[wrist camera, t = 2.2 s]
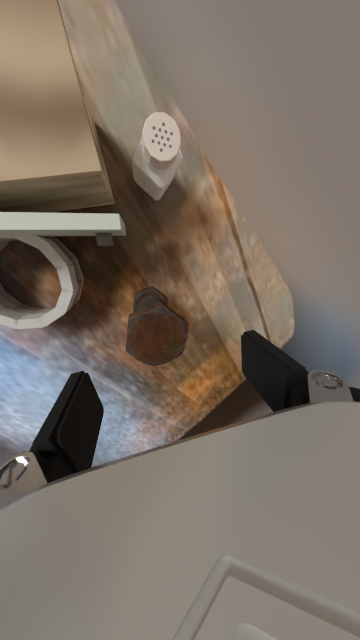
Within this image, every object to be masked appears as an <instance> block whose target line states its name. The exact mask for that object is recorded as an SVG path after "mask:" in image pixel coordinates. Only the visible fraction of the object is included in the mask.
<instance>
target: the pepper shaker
mask: <svg viewBox="0 0 360 640" xmlns="http://www.w3.org/2000/svg"><path fill="white" fill-rule="evenodd" d="M180 145H181V138H180V130H179V128H178V126H177V124H176V122H175V121H174V119H173V118H171V117H170V116H169V115H167V114H166V113H153V114H152V115H151V116H150V117H149V118H147V119H146V121H145V125H144V128H143V132H142V138H141V140H140V142H139V143H138V145H137V147H136V149H135V151H134V153H133V157H132V165H133V179H134V180H135V182H136V183H137V184H138V185H139V186H140V187H141V188H142V189H143V190H144V191H145V192H146V193H147V194H148V195H150V196H151V197H152V198H153V199H154V200H156V201H158V200H159V199H161V197H162V196H163V194H164V193H165V191H166V190H167V188H168V187H169V185H170V184H171V182H172V181H173V179H174V177H175V175H176V173H177V171H178V168H179V166H180V164H181V162H182V158H183V157H182V153H181V151H180V149H179V148H180Z"/></svg>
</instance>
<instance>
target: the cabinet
mask: <svg viewBox="0 0 360 640" xmlns="http://www.w3.org/2000/svg"><path fill="white" fill-rule="evenodd" d="M110 204H115V202H114V198H113V194H112V190H111V186H110V182H109V178H108V174H107V170H106V166H105V162H104V158H103V154H102V151H101V147H100V143H99V139H98V135H97V131H96V127H95V123H94V120H93V117H92V114H91V111H90V108H89V105H88V102H87V100H86V97H85V94H84V91H83V88H82V85H81V82H80V79H79V76H78V73H77V71H76V68H75V64H74V60H73V57H72V53H71V49H70V45H69V41H68V38H67V34H66V30H65V26H64V22H63V18H62V15H61V11H60V7H59V3H58V0H0V212H36V213H51V212H58V211H65V210H73V209H80V208H88V207H95V206H103V205H110ZM44 237H46V238H48V239H50V240H52V241H53V242H55V243H56V244H57V246H58V247H59V248H60V249H61V250H62V252H63V253H64V254H65V255H66V256H67V257H68V259H69V260H70V261H71V262H72V263H73V264H71V265H73V266H74V270H75V275H76V279H77V284H78V291H77V294H76V297H75V299H74V302H73V304H72V306H73V305H74V304H75V303H76V302H77V301H78V300H79V299H80V297H81V292H82V288H83V283H84V277H83V274H82V271H81V268H80V265H79V263H78V260H77V257H76V256H75V255H74V254H73V253H72V252H71V251H70V250H69V249H68V248H67V247H66V246H65V245H64V244H63V243H62V242H60V241H59V240H58V239H57V238H56V237H53V236H44ZM12 241H19V240H18V239H0V251H1V250H2V249H3V248H4V247H5V246H6V245H7V244H8V243H9V242H12ZM75 257H76V258H75ZM0 304H1V305H2V306H3V307H5V308H8V309H11V310H14V311H17V312H20V313H23V314H26V315H28V314H41V313H48V312H49V311H51V310H52V309H54V308H55V307H56V306H54V307H49V308H44V309H41V308H37V307H33V306H29V305H25V304H22V303H21V302H19V301H18V300H16V299H15V298H14V297H12V296H11V295H10V294H8V293H7V292H6V291H5V290H4V288H3V286H2V284H1V283H0Z"/></svg>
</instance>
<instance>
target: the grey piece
mask: <svg viewBox="0 0 360 640" xmlns="http://www.w3.org/2000/svg"><path fill="white" fill-rule="evenodd" d="M44 236H96V241H97V246H114V244H113V237H112V236H126V229H125V224H124V222H123V220H122V218H121V216H120V215H119V214H103V213H36V212H0V239H18V240H20V241H22V242H24V243H27V244H29V245H31V246H33V247H35V248H37V249H39V250H40V251H41V252H42V253H43V254H44V255H45V256H46V257H47V259H48V260H49V261H50V262H51V263H52V264H53V265H54V266H55V268H56V269H57V272H58V276H59V280H60V284H61V288H62V291H61V294H60V297H59V299H58V302H57V305H56V307H55V308H54V309H52V310H51V311H49V312H48V313H41V314H28V315H26V314H23V313H20V312H17V311H14V310H11V309H8V308H5V307H3V306H2V305H1V304H0V324H1V325H4V326H7V327H10V328H14V329H29V328H40V327H46V326H47V325H49V324H50V323H52V322H53V321H55V320H56V319H58V318H59V317H61V316H62V315H64V314H65V313H66V312H68V311H69V310H70V309H71V307H72V304H73V302H74V299H75V297H76V294H77V291H78V284H77V279H76V275H75V270H74V266H73V265H71V264H73V263H72V262H71V261H70V260H69V259H68V257H67V256H66V255H65V254H64V253H63V252H62V250H61V249H60V248H59V247H58V246H57V244H56V243H55V242H53V241H52V240H50V239H48V238H46V237H44Z"/></svg>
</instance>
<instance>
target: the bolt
mask: <svg viewBox="0 0 360 640" xmlns="http://www.w3.org/2000/svg"><path fill="white" fill-rule="evenodd" d="M167 302H168V299H167V297H166V296H165V295H164V294H162V293H161V292H160V291H158V290H157V289H156V288H154V287H153V286H151V287H148V288H145V289H143V290H140V291H138V292H136V293H135V298H134V309H133V313H131V314H129V319H128V328H127V340H126V351H127V352H128V353H129V354H130V355H131V356H133V357H134V358H136V359H137V360H139V361H141V362H143V363H145V364H147V365H151V366H157V365H161V364H165V363H167V362H170V361H172V360H174V359H175V358H177V357H178V356H180V355H181V354H182V353H183V351H184V348H185V345H186V340H187V334H188V323H187V321H186V320H185V319H184V318H182V317H181V316H180V315H178V314H177V313H176V312H174V311H173V310H172V309H170V308H169V307H168V306H167Z"/></svg>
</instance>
